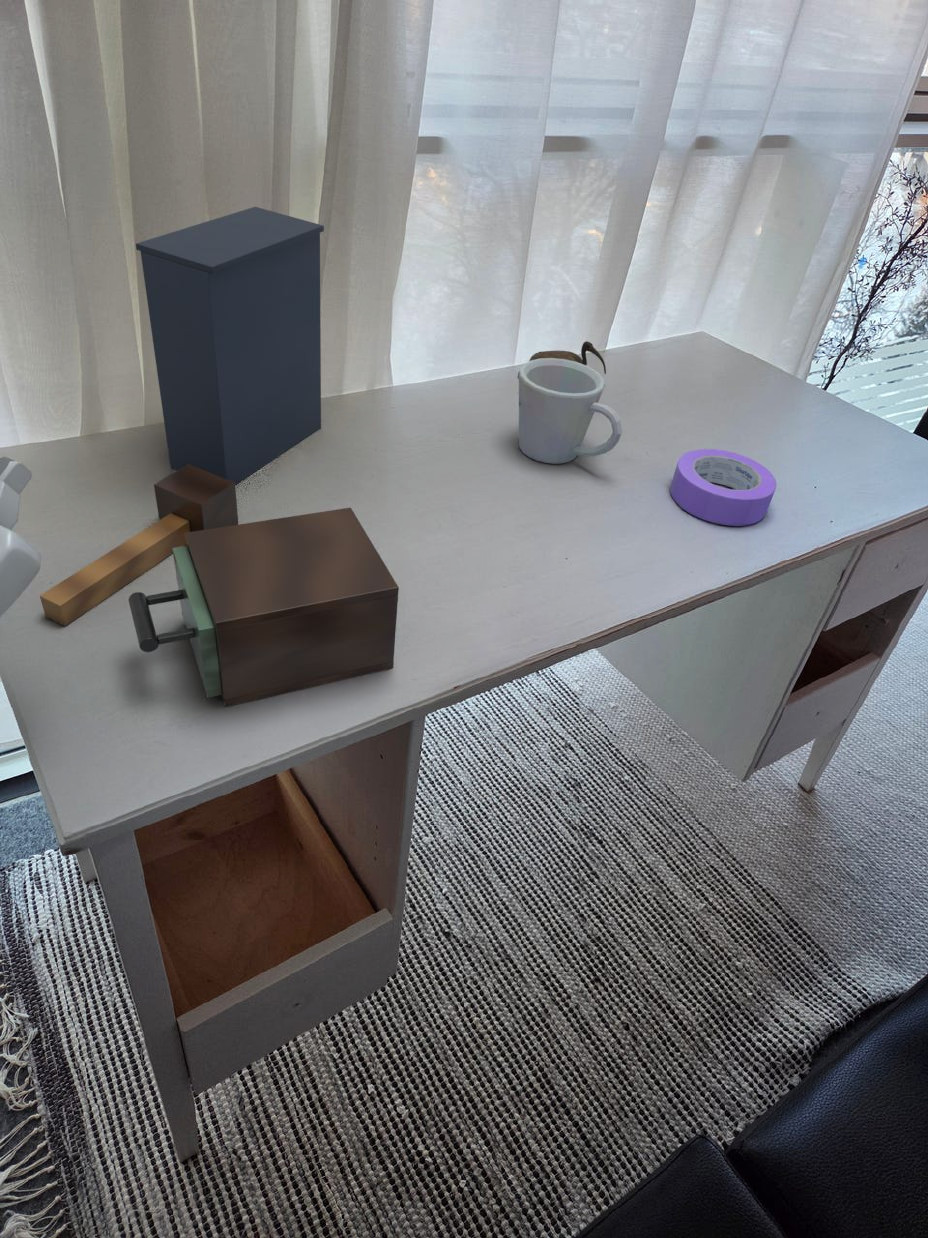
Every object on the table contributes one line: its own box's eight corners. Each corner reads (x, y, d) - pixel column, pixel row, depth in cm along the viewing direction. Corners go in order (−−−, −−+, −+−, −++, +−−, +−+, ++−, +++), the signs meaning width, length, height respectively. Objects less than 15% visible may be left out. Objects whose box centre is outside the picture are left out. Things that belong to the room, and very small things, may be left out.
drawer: (153, 710, 66) (139, 641, 61) (132, 623, 73) (118, 556, 68) (366, 661, 73) (369, 596, 68) (328, 586, 80) (328, 522, 75)
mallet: (80, 634, 73) (68, 589, 69) (30, 609, 74) (16, 564, 71) (238, 523, 87) (235, 482, 84) (193, 504, 89) (188, 463, 86)
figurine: (607, 410, 117) (621, 350, 111) (585, 417, 115) (598, 356, 109) (539, 371, 125) (549, 313, 119) (517, 377, 122) (526, 318, 117)
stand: (231, 491, 92) (211, 266, 76) (166, 466, 94) (135, 243, 79) (324, 429, 104) (324, 225, 89) (265, 407, 107) (255, 206, 92)
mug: (542, 421, 112) (555, 350, 106) (633, 468, 105) (653, 395, 99) (490, 444, 106) (501, 369, 99) (583, 496, 99) (601, 419, 92)
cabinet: (225, 707, 68) (215, 623, 62) (195, 614, 76) (184, 532, 70) (393, 668, 74) (399, 587, 68) (349, 585, 82) (350, 507, 76)
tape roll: (662, 470, 106) (670, 443, 103) (752, 479, 106) (762, 452, 104) (679, 522, 97) (688, 494, 94) (777, 531, 97) (789, 503, 95)
